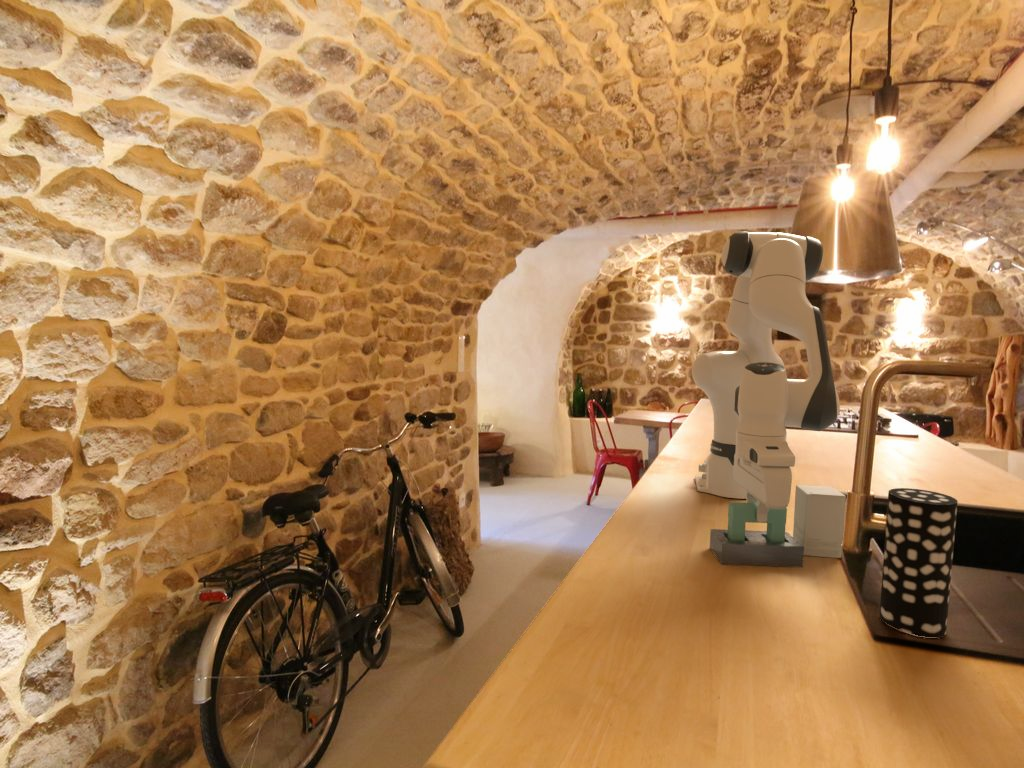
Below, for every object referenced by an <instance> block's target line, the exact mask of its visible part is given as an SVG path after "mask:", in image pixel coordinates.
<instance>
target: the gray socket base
mask: <svg viewBox="0 0 1024 768" xmlns="http://www.w3.org/2000/svg"><path fill="white" fill-rule="evenodd" d="M709 531H710V532H709V533H710V534H709V535H710V536H709V549H710V548H711V549H710V551H711V550H712V551H713V552H712V551H711V552H712V554H715V555H716V556H715V555H714V556H715V558H716V559H717V558H718V559H719V560H718V559H717V560H718V562H719V561H720V562H721V563H720V562H719V563H720V565H728V564H734V566H735V564H736V566H755V567H756V566H761V567H780V568H781V567H783V568H803V567H804V556H805V555H804V546H803V545H801V544H800V543H799V542H798V541H797V540H796V539H794V538H793V535H791V534H790V533H789V532H787V531H785V542H768V541H767V540H766V534H767V530H751V529H750V530H746V529H745V541H733V540H728V539H727V536H728V529H719V528H718V529H717V528H716V529H715V528H711V529H710V530H709Z"/></svg>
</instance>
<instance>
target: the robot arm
mask: <svg viewBox="0 0 1024 768" xmlns="http://www.w3.org/2000/svg"><path fill="white" fill-rule="evenodd" d="M721 262H722V268H723V270H724V271H725V272H726V273H727V274H729V275H731V276H735V277H737V279H736V281H735V284H734V288H733V292H732V296H731V300H730V305H729V308H728V309H729V310H728V314H727V318H726V327H727V330H728V332H729V333H731V335H732V336H734V338H735V337H736V339H738V349H737V350H714V351H709V352H705V353H702V354H699V355H698V356H697V357H696V358H695V359H694V361H693V364H692V366H691V367H692V368H691V376H692V379H693V381H694V383H695V385H696V386H697V388H699V389H700V390H701V391H702V392H703V393H704V394H705V395H706V397H707V398H708V400H709V402H710V405H711V407H712V413H713V439H711V443H710V450H709V451H710V453H709V454H708V456H707V457H706V459H704V461H703V463H698V472H699V473H701V474H696V475H695V476H694V480H695V485H696V490H697V491H698V492H701V493H706V494H712V495H714V496H718V497H721V498H722V497H723V498H729V499H730V498H731V499H739V500H740V499H743V500H744V499H745V500H746V503H757V504H758V507H757V511H755V519H756V520H757V521H758V522H766V521H767V514H768V512H769V510H770V509H786V508H787V509H788V506H789V504H790V499H791V492H792V484H793V482H792V481H793V473H792V469H791V467H792V468H793V467H795V465H796V456H795V454H794V452H793V451H792V450H791V448H790V446H789V444H788V442H787V434H788V433H787V428H786V427H791V428H801V429H804V430H809V431H814V432H815V431H816V432H821V431H824V430H825V429H827V428H829V427H830V426H832V425H834V424H835V423H836V422H837V421H838V417H839V414H840V410H841V409H840V407H841V406H840V405H841V402H840V396H839V394H838V390H837V387H836V385H835V381H834V376H833V375H834V374H833V367H832V362H831V361H832V360H831V357H830V350H829V349H830V348H829V342H828V338H827V337H828V336H827V331H826V328H825V327H826V326H825V323H824V321H825V320H824V317H823V314H822V312H821V310H820V308H819V307H817V306H814V305H812V303H811V302H810V300H809V299H808V296H807V295H806V282H809V281H810V280H812V279H813V278H815V277H816V276H817V274H818V272H819V270H820V269H821V268H822V264H823V262H824V246H823V244H822V242H821V240H819V239H818V238H816V237H815V238H814V237H812V236H807V235H804V236H803V235H802V236H801V235H797V234H792V233H784V232H777V231H776V232H765V231H763V232H762V231H760V232H759V231H756V232H753V231H752V232H749V231H747V230H745V231H744V230H743V231H737V232H733V233H731V235H729V237H728V238H727V240H726V242H725V243H724V245H723V248H722V251H721ZM773 330H775V331H778V332H783V333H785V334H788V335H789V336H792V337H794V338H795V339H798V340H799V341H801V343H803V345H804V347H805V351H806V357H807V364H808V369H809V370H808V371H809V377H808V378H804V379H799V378H798V379H796V378H788V374H787V370H786V367H785V363H784V361H783V360H782V358H781V357H780V356H779V354H777V352H776V350H775V348H774V345H773V339H772V331H773Z"/></svg>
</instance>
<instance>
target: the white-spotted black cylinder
mask: <svg viewBox="0 0 1024 768" xmlns="http://www.w3.org/2000/svg"><path fill="white" fill-rule="evenodd" d="M957 512H958V499H956V498H954V497H953V496H950V495H947V494H944V493H940V492H936V491H932V490H928V489H927V490H926V489H919V488H908V487H907V488H905V487H903V488H902V487H900V488H899V487H898V488H891V489H889V490H888V493H887V506H886V523H885V534H884V535H885V536H884V548H883V549H884V550H883V551H884V552H883V561H882V562H883V563H882V573H881V589H880V599H879V600H880V603H879V615H880V617H879V619H880V618H881V619H882V620H883V621H884V622H886V623H887V624H889V625H891V626H893V627H895V628H897V629H900V630H903V631H906V632H908V633H911V634H915V635H918V636H925V637H942V636H944V635H945V634H946V635H947V627H948V616H949V605H950V604H949V603H950V593H951V583H952V570H953V561H954V559H953V558H954V547H955V535H956V524H957V515H958V514H957ZM881 619H880V620H881ZM946 635H945V636H946ZM945 636H944V637H945ZM942 638H943V637H942Z"/></svg>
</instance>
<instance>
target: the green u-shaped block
mask: <svg viewBox="0 0 1024 768" xmlns="http://www.w3.org/2000/svg"><path fill="white" fill-rule="evenodd" d="M757 507H758V504H757V503H747V502H737V501H735V502H734V501H730V502H729V501H728V506H727V509H728V511H727V512H728V513H727V520H728V521H727V530H728V536H727V539H728V540H733V541H745V530H746V523H750V524H751V523H753V524H754V523H755V524H766V531H767V534H766V540H767V541H768V542H785V532H786V524H787V516H788V515H787V513H788V507H787V508H786V509H770V510H769V512H768V514H767V521H766V522H758V521H757V520H756V519H755V511H757Z"/></svg>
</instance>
